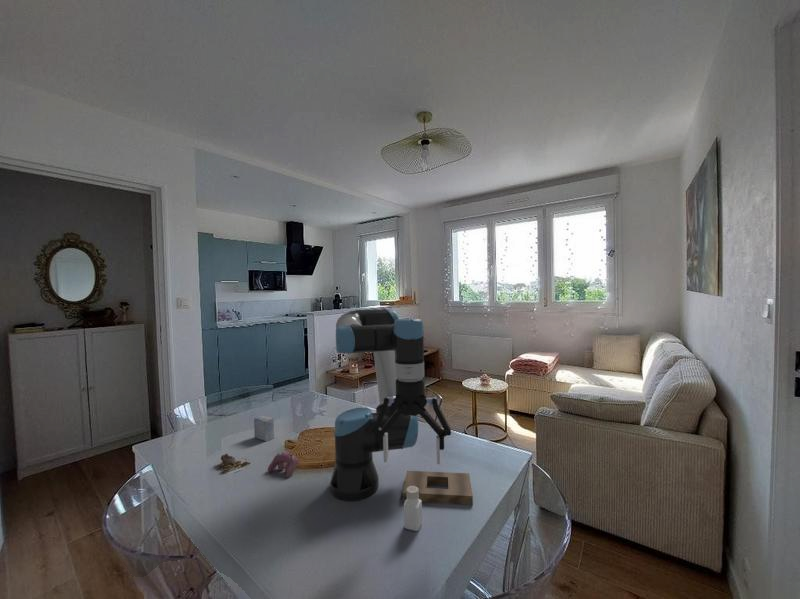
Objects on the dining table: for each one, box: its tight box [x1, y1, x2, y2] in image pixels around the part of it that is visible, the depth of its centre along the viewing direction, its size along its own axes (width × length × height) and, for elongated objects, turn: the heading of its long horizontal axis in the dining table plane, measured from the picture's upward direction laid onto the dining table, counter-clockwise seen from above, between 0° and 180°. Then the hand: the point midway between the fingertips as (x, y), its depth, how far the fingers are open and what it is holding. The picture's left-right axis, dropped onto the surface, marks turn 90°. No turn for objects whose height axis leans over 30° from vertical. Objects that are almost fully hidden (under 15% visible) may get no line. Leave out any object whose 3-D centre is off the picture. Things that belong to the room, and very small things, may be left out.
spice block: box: [402, 470, 474, 506], centre depth 99 cm, size 20×12×2 cm, turn 83°
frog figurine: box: [216, 453, 252, 475], centre depth 117 cm, size 12×12×4 cm
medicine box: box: [253, 415, 275, 442], centre depth 141 cm, size 8×4×9 cm, turn 58°
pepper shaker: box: [403, 486, 423, 532], centre depth 84 cm, size 4×4×10 cm
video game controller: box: [267, 452, 299, 478], centre depth 113 cm, size 10×5×7 cm, turn 65°
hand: (412, 460), depth 84 cm, fingers open, 13 cm apart
